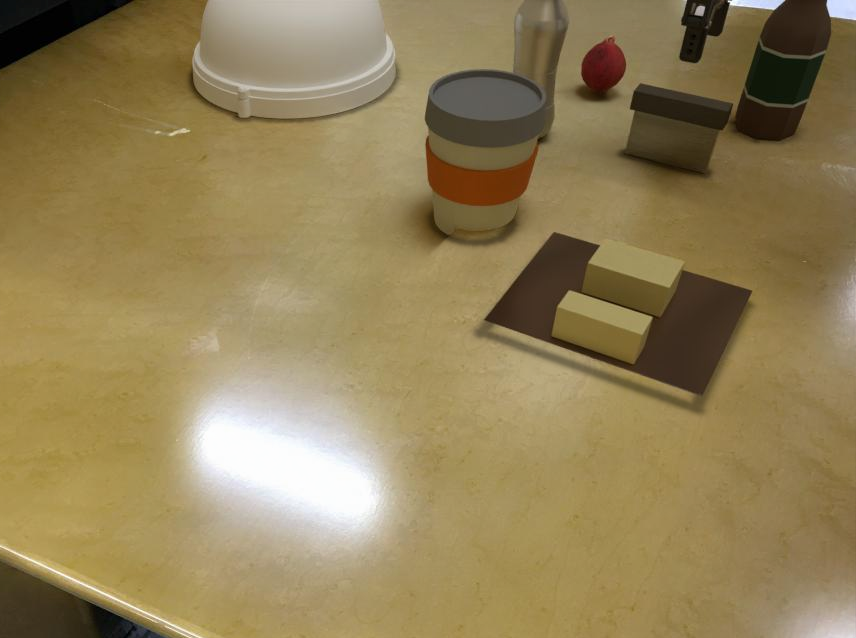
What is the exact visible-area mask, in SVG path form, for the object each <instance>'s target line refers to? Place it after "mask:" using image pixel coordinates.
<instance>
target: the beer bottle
mask: <svg viewBox="0 0 856 638" xmlns="http://www.w3.org/2000/svg"><path fill="white" fill-rule="evenodd" d="M831 36H832V19H831V15H830V11H829V8H828V0H784V1H783V2H781V3H780V4H779V5H777V7H776V8H775V9H774V10H773V11H772V12H771V14H769V17H768V18H767V19H766V21H765V22H764V25H763V27H762V30H761V32H760V35H759V38H758V41H757V44H756V48H755V51H754V53H753V57H752V60H751V63H750V66H749V69H748V73H747V75H746V80H745V82H744V85H743V89H742V91H741V94H740V98H739V101H738V105H737V109H736V112H735V117H734V118H735V123H736V127H737V131H739V132H741V133H743V134H745V135H747V136H750V137H751V138H754V139H756V140H771V141H780V140H783V139H785V138H787V137H789V136H792V135H794V134H795V133H796V132H797V129H798V127H799V125H800V123H801V120H802V117H803V115H804V113H805V109H806V107H807V105H808V101H809V99H810V96H811V93H812V91H813V88H814V86H815V82H816V81H817V77H818V74H819V71H820V69H821V66H822V64H823V61H824V59H825V56H826V53H827V50H828V46H829V43H830V39H831Z"/></svg>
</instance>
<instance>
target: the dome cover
mask: <svg viewBox="0 0 856 638" xmlns="http://www.w3.org/2000/svg"><path fill="white" fill-rule="evenodd" d="M199 38H200V39H199V41H198V42H197V44H196V45H195V47H194V50H193V55H192V61H191V63H192V64H191V65H192V81H193V85H194V87H195V90H196V91H197V92H198V93H199V94H200V95H201V97H202V98H204V99H205V100H206V101H208V102H209V103H211V104H213V105H215V106H217V107H220V108H222V109H224V110H227V111H229V112H232V113H237V116H238V117H239V118H240V119H248V118H250V117H258V118H266V119H279V120H281V119H283V120H284V119H285V120H286V119H287V120H289V119H290V120H291V119H307V118H318V117H324V116H329V115H335V114H339V113H343V112H347V111H350V110H354V109H356V108H359V107H362V106H365V105H366V104H368V103H370V102H372V101H374V100H376V99H377V98H379V97H380V96H382V95H383V94H384V93H386V91H388V90H389V88H391V86H392V85H393V83H394V82H395V78H396V75H397V71H396V69H397V68H396V67H397V66H396V50H395V48H394V44H393V41H392V39H391V37H390V35H388V33H386V26H385V21H384V15H383V12H382V8H381V6H380V3H379V0H207V2H206V5H205V8H204V11H203V12H202V19H201V26H200V35H199Z"/></svg>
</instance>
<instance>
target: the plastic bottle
mask: <svg viewBox="0 0 856 638" xmlns="http://www.w3.org/2000/svg"><path fill="white" fill-rule="evenodd" d="M513 21H514V22H513V26H514V28H513V33H514V35H513V37H514V38H513V39H514V42H513V43H514V50H513V51H514V52H513V65H512V73H516V74H519V75H522V76H525V77H527V78H530V79H532V80H533V81H535V82H536V83H538V84H539V85H540V86H541V87H542V88H543V89H544V91H545V93H546V115H545V126H544V128H543V130H542V131H541V132H540V134H539V136H538V139H542V138H544V137H545V136H546V135H547V134H548V133H549V132H550V131H551V129H552V127H553V124H554V121H555V113H556V112H555V111H556V109H555V108H556V106H555V104H556V103H555V92H556V91H555V90H556V79H557V77H556V76H557V71H558V66H559V63H560V57H561V53H562V49H563V46H564V42H565V40H566V36H567V34H568V33H567V32H568V30H569V25H570V13H569V11H568V8H567V5H566V2H565V1H564V0H523V1H522V2H521V4H520V5H519V7H518V8H517V10H516V12H515V15H514V19H513ZM538 139H537V140H538Z"/></svg>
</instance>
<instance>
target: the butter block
mask: <svg viewBox="0 0 856 638" xmlns="http://www.w3.org/2000/svg"><path fill="white" fill-rule="evenodd" d="M599 245H600V247H599V248H598V249H597V251H596V252H595V254H594V255H593V256H592V258H591V259H590V261H589V262H588V265H587V269H586V274H585V278H584V283H583V287H582V292H583V293H586V294H589V295H592V296H595V297H598V298H601V299H605V300H608V301H611V302H614V303H617V304H620V305H623V306H626V307H629V308H633V309H636V310H639V311H642V312H645V313H648V314H651V315H654V316H658V317H661V316H662V314H663V312H664V310H665V309H666V307H667V305H668V304H669V302H670V300H671V298H672V297H673V295H674V293H675V291H676V289H677V286H678V282H679V279H680V276H681V273H682V270H684V266H685V262H686V261H685V260H682V259H678V258H675V257H672V256H668V255H665V254H661V253H658V252H654V251H650V250H647V249H645V248H644V249H643V248H640V247H637V246H633V245H630V244H627V243H624V242H619V241H617V240H613V239H610V238H604V239H603V241H602V243H601V244H599Z"/></svg>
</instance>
